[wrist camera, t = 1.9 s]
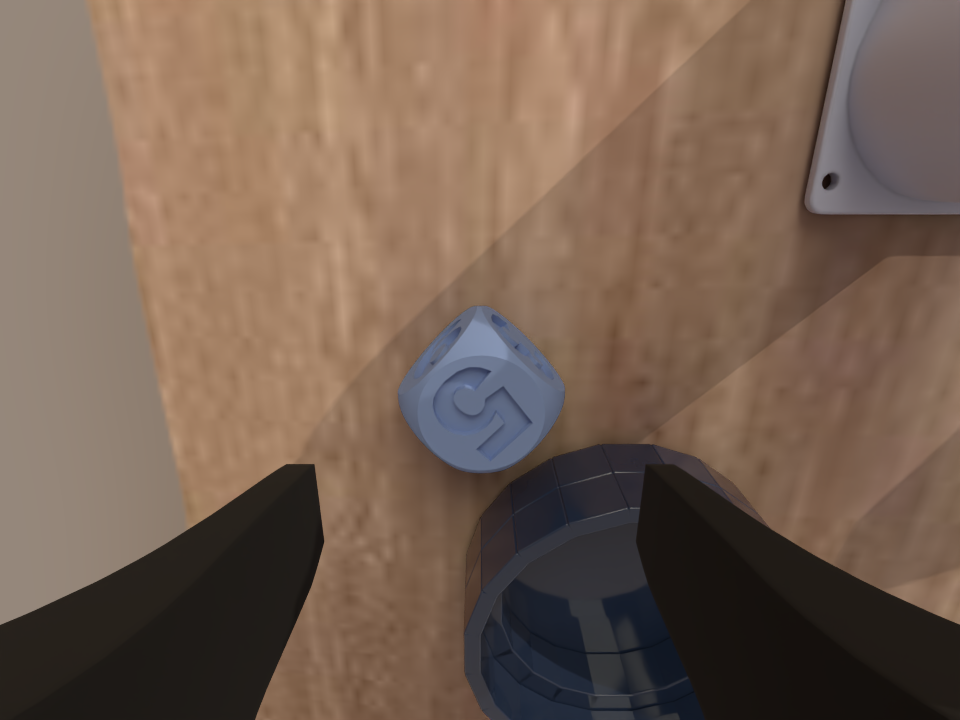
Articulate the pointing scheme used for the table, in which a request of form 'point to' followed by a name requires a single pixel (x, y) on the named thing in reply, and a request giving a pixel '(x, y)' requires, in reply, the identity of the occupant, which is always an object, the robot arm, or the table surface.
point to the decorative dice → (481, 393)
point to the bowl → (575, 594)
